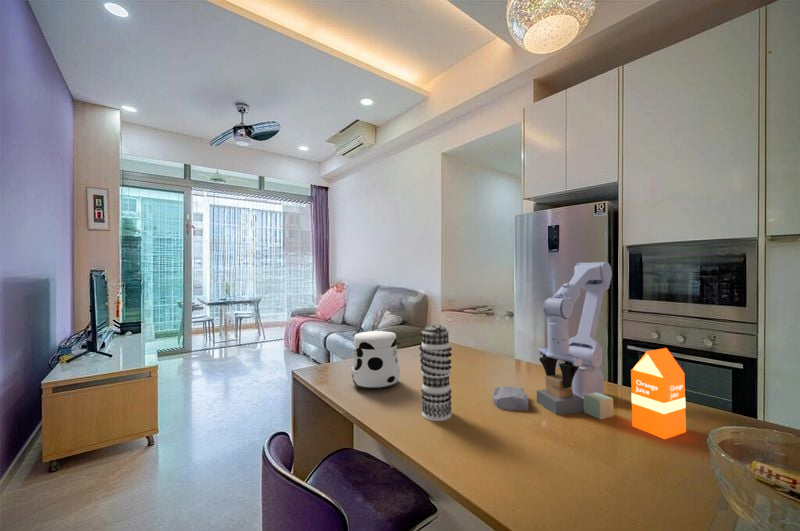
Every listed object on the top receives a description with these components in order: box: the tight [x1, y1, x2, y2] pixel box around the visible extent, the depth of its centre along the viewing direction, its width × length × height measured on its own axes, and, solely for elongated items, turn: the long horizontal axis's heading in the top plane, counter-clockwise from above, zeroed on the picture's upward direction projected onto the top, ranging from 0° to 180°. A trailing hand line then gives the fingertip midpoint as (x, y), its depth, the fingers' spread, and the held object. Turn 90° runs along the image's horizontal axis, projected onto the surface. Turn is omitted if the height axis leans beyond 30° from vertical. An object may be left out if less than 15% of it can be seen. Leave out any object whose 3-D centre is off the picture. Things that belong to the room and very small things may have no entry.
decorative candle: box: [418, 324, 453, 422], centre depth 96 cm, size 9×9×25 cm
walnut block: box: [545, 373, 573, 399], centre depth 100 cm, size 5×5×5 cm
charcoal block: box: [536, 389, 585, 415], centre depth 100 cm, size 9×9×4 cm
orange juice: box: [630, 347, 687, 440], centre depth 85 cm, size 8×9×20 cm
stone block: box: [492, 385, 529, 411], centre depth 103 cm, size 12×5×10 cm
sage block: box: [584, 392, 615, 420], centre depth 94 cm, size 5×5×5 cm
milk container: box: [351, 330, 401, 390], centre depth 122 cm, size 17×17×18 cm
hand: (559, 384), depth 100 cm, fingers open, 5 cm apart
